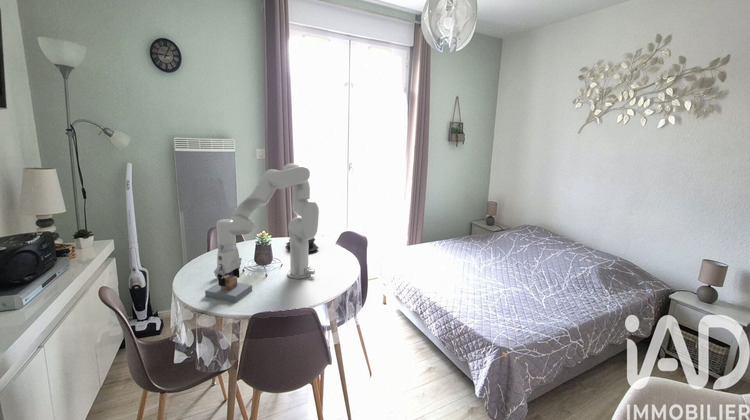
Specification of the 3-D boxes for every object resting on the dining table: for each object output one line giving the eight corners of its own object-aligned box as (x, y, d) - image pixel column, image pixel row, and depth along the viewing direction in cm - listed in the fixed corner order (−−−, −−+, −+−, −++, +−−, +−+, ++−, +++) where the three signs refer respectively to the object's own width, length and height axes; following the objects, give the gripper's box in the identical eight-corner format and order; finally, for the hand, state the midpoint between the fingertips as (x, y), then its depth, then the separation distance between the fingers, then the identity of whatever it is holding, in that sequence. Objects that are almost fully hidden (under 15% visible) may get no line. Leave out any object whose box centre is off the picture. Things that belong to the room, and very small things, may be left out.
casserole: (325, 250, 216) (325, 238, 214) (302, 256, 202) (302, 243, 200) (301, 241, 231) (301, 230, 230) (279, 247, 217) (279, 235, 216)
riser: (252, 290, 154) (252, 284, 154) (235, 302, 143) (235, 296, 142) (223, 285, 158) (223, 280, 157) (205, 296, 147) (205, 290, 146)
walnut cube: (237, 286, 152) (236, 276, 151) (230, 290, 147) (229, 280, 146) (228, 284, 153) (227, 274, 152) (220, 289, 148) (220, 279, 147)
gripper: (220, 253, 137) (223, 290, 140) (246, 241, 153) (248, 275, 157) (205, 251, 138) (208, 288, 142) (232, 239, 155) (234, 273, 158)
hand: (229, 281), depth 149 cm, fingers open, 9 cm apart
